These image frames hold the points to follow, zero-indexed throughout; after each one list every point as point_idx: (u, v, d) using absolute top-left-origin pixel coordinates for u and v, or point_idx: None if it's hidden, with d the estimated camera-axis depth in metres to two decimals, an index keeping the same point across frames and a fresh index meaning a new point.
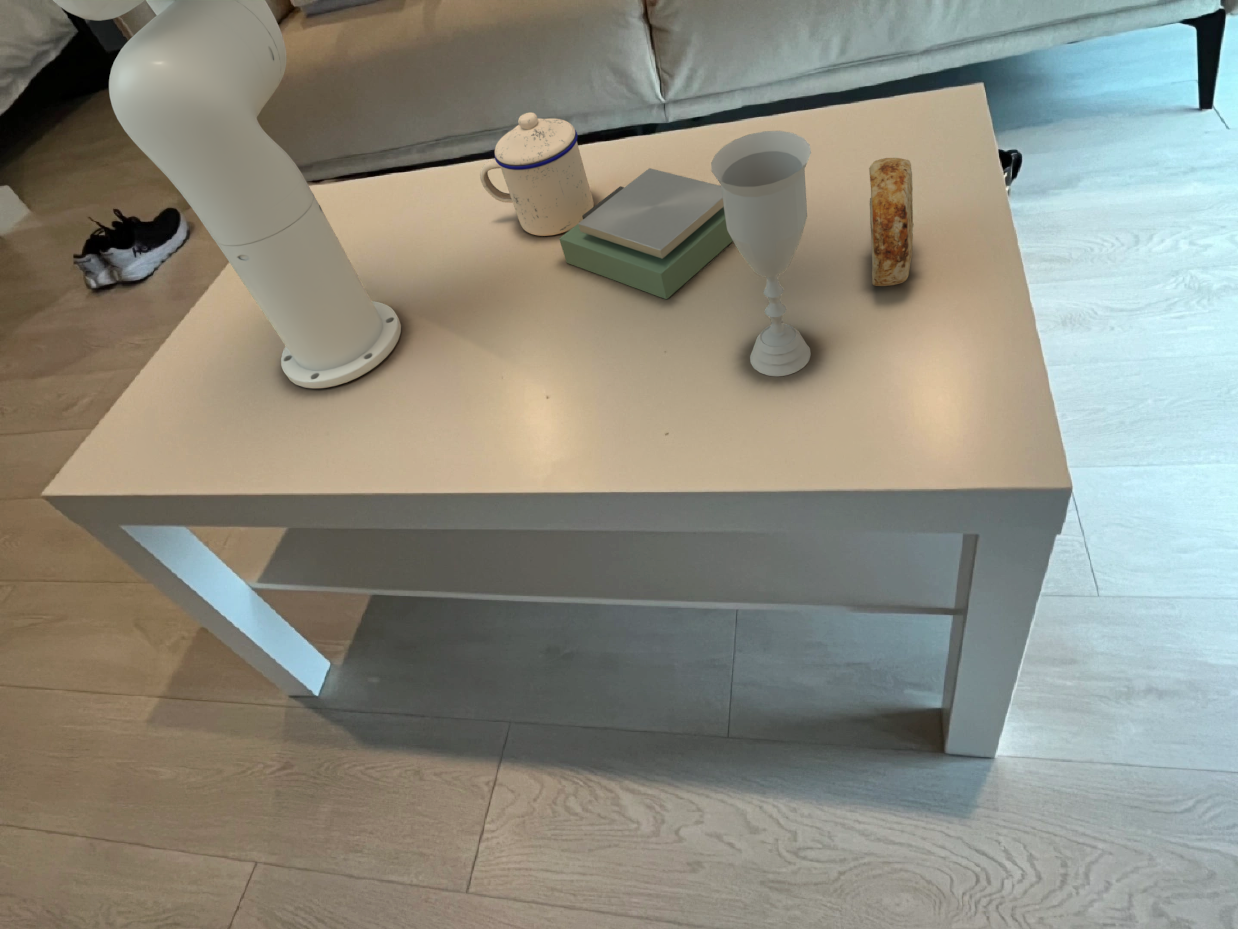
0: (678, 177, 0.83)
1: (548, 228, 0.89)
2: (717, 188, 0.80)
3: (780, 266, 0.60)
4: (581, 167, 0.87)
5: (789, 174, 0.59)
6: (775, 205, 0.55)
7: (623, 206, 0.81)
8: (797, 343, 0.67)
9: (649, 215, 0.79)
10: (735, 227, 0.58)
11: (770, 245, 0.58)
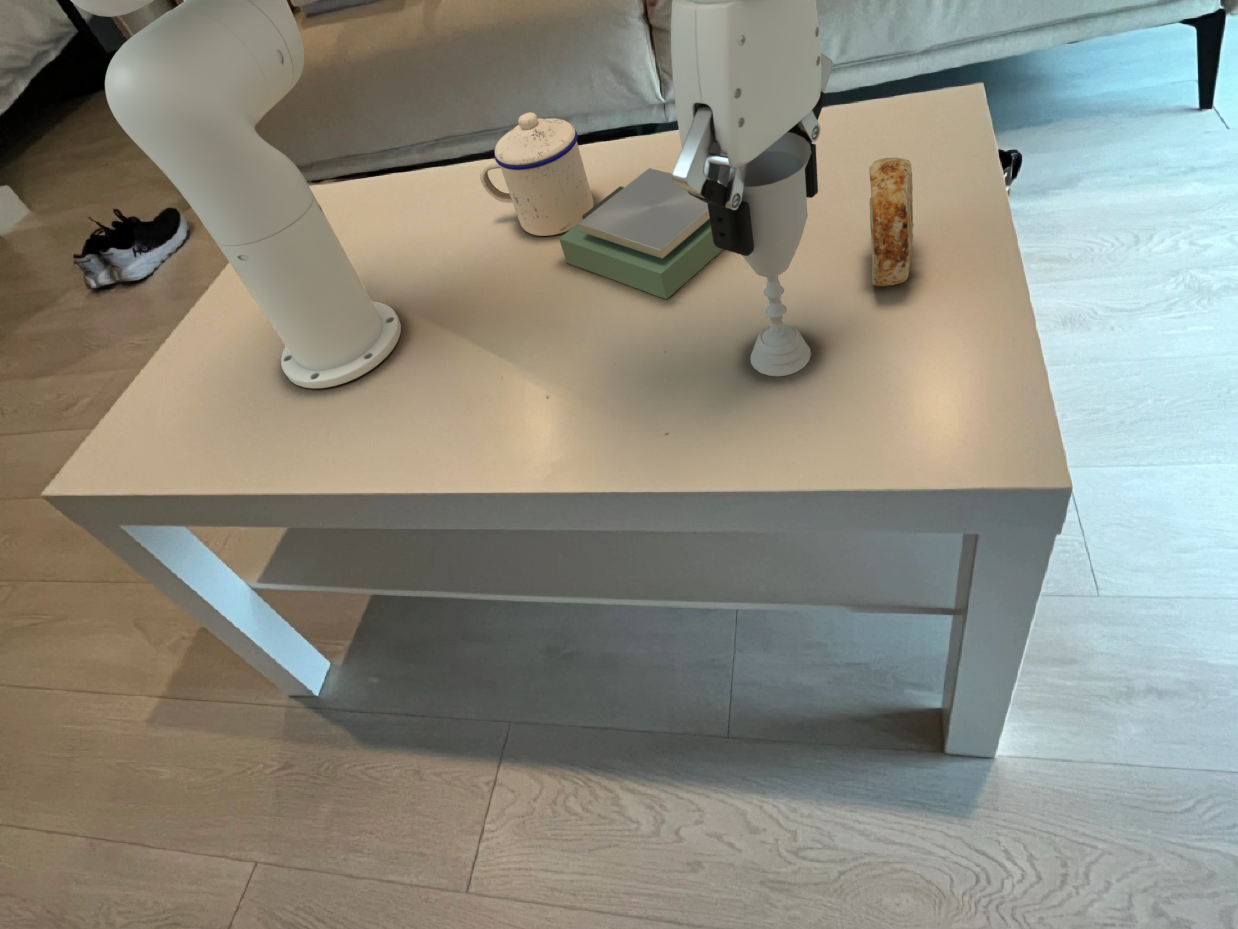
0: None
1: (548, 228, 0.89)
2: None
3: (780, 266, 0.60)
4: (581, 167, 0.87)
5: (789, 174, 0.59)
6: (775, 205, 0.55)
7: (623, 206, 0.81)
8: (797, 343, 0.67)
9: (649, 215, 0.79)
10: None
11: (770, 245, 0.58)
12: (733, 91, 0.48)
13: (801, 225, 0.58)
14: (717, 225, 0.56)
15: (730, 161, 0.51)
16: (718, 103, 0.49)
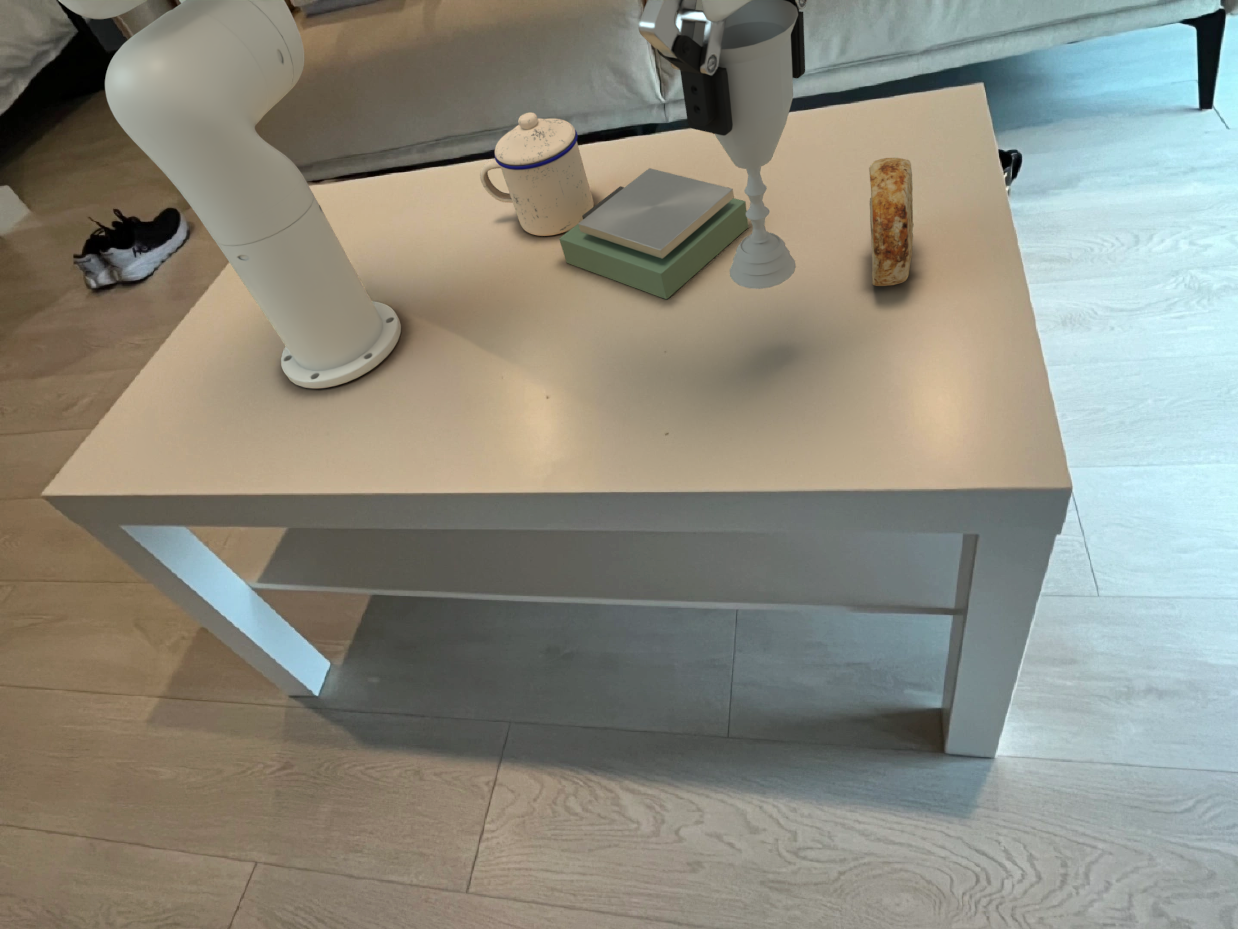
0: (678, 177, 0.83)
1: (548, 228, 0.89)
2: (717, 188, 0.80)
3: (762, 155, 0.54)
4: (581, 167, 0.87)
5: None
6: (756, 74, 0.49)
7: (623, 206, 0.81)
8: (781, 252, 0.60)
9: (649, 215, 0.79)
10: None
11: (751, 125, 0.51)
12: None
13: (786, 103, 0.51)
14: (691, 97, 0.50)
15: (705, 11, 0.45)
16: None
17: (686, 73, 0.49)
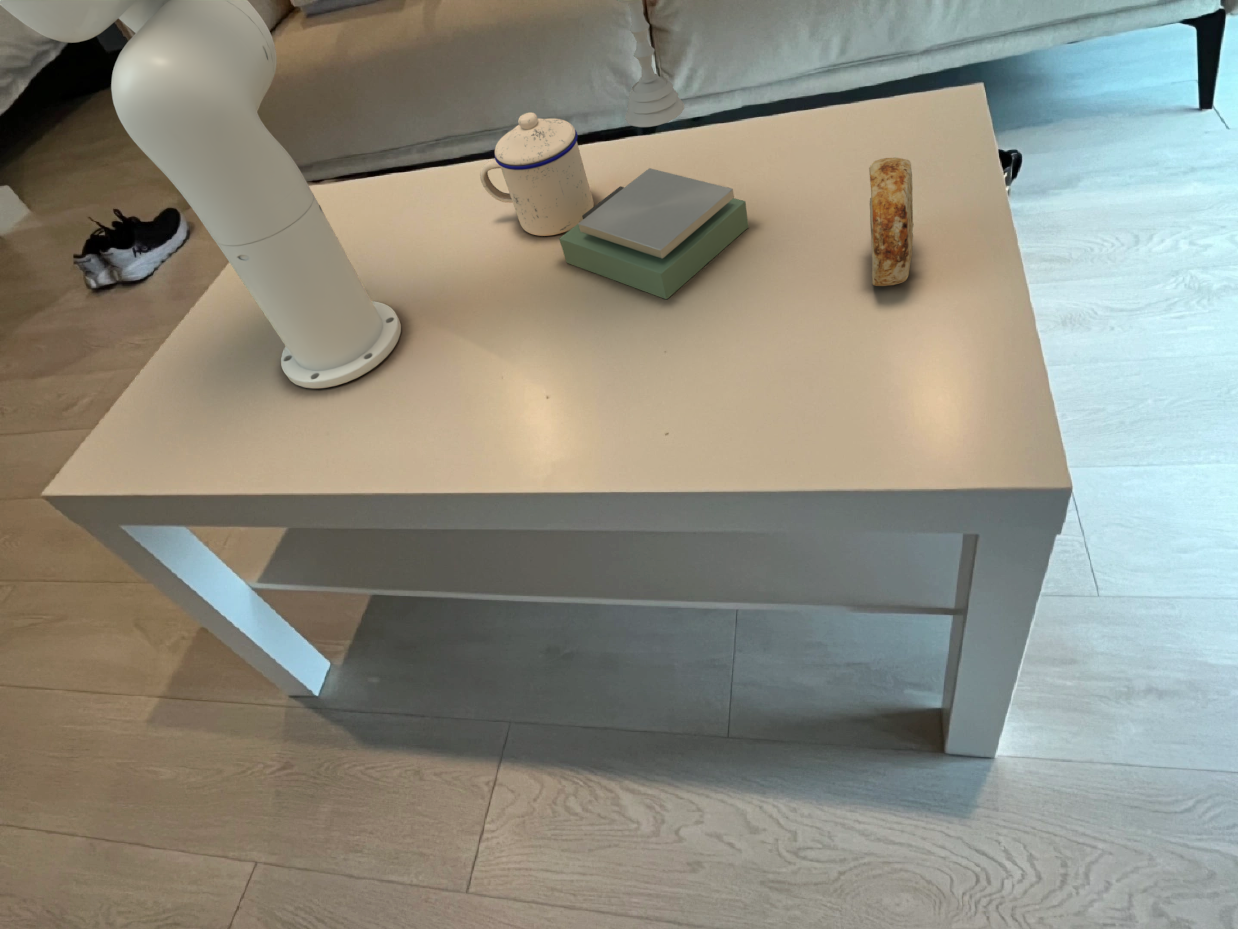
0: (678, 177, 0.83)
1: (548, 228, 0.89)
2: (717, 188, 0.80)
3: None
4: (581, 167, 0.87)
5: None
6: None
7: (623, 206, 0.81)
8: (668, 91, 0.66)
9: (649, 215, 0.79)
10: None
11: None
12: None
13: None
14: None
15: None
16: None
17: None
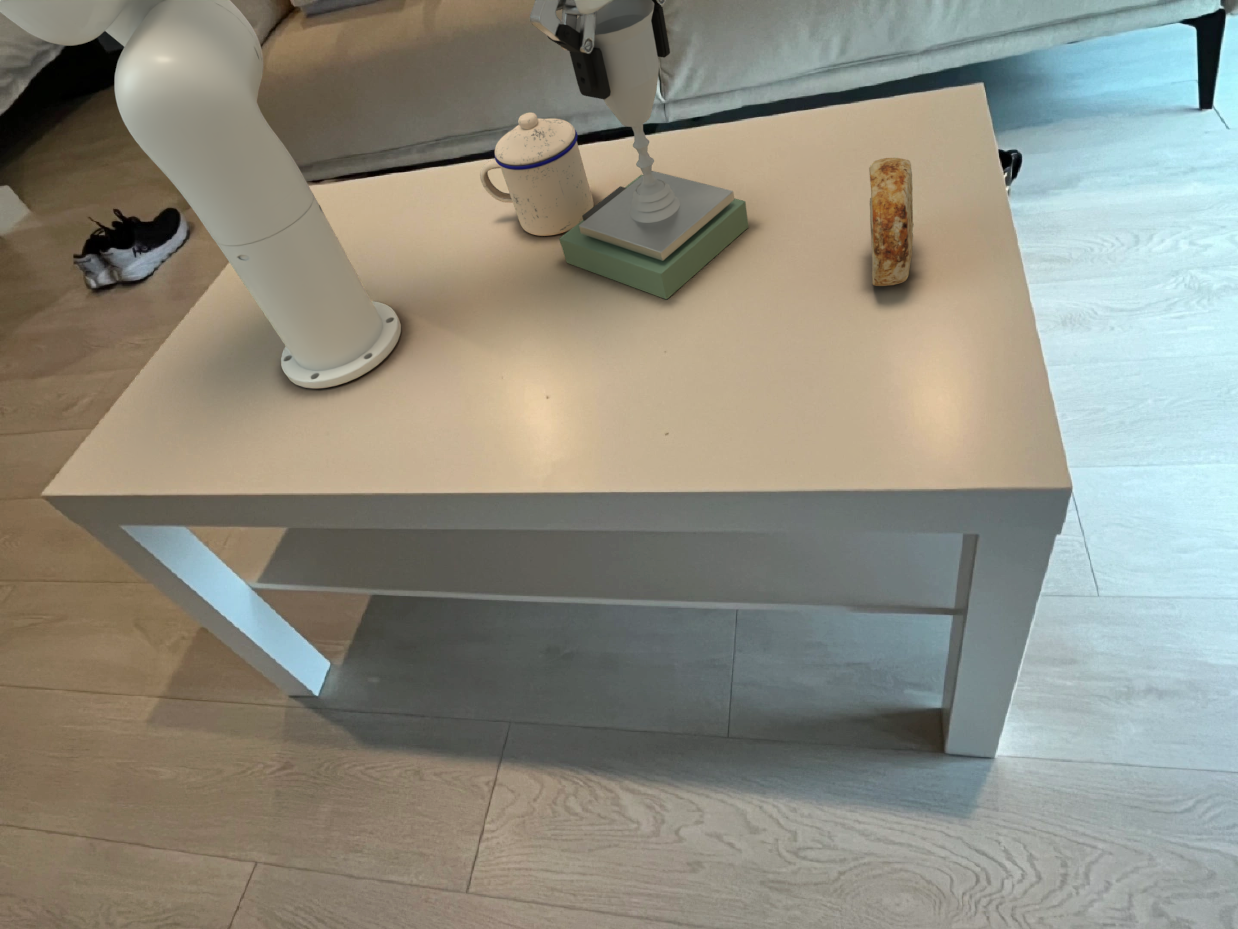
0: (678, 179, 0.83)
1: (548, 228, 0.89)
2: (717, 190, 0.80)
3: (639, 115, 0.72)
4: (581, 167, 0.87)
5: None
6: (624, 53, 0.67)
7: (624, 208, 0.81)
8: (666, 193, 0.78)
9: None
10: None
11: (625, 91, 0.69)
12: None
13: (651, 75, 0.69)
14: (578, 71, 0.67)
15: (578, 6, 0.62)
16: None
17: (572, 53, 0.66)
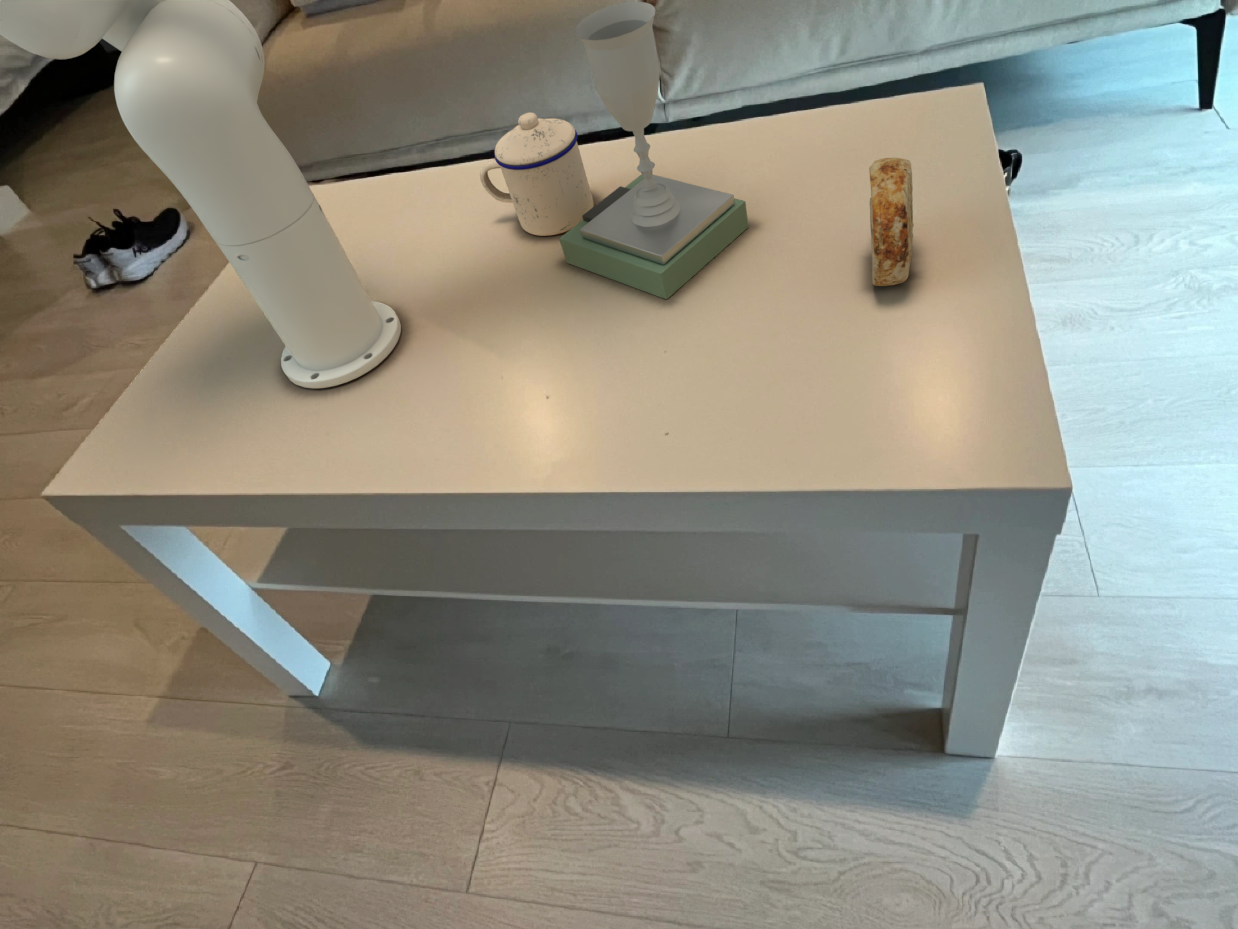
0: (679, 183, 0.83)
1: (548, 228, 0.89)
2: (717, 194, 0.80)
3: (640, 119, 0.72)
4: (581, 167, 0.87)
5: None
6: (625, 58, 0.67)
7: (625, 212, 0.82)
8: (666, 197, 0.78)
9: None
10: (598, 81, 0.69)
11: (626, 96, 0.69)
12: None
13: (652, 80, 0.69)
14: None
15: None
16: None
17: None
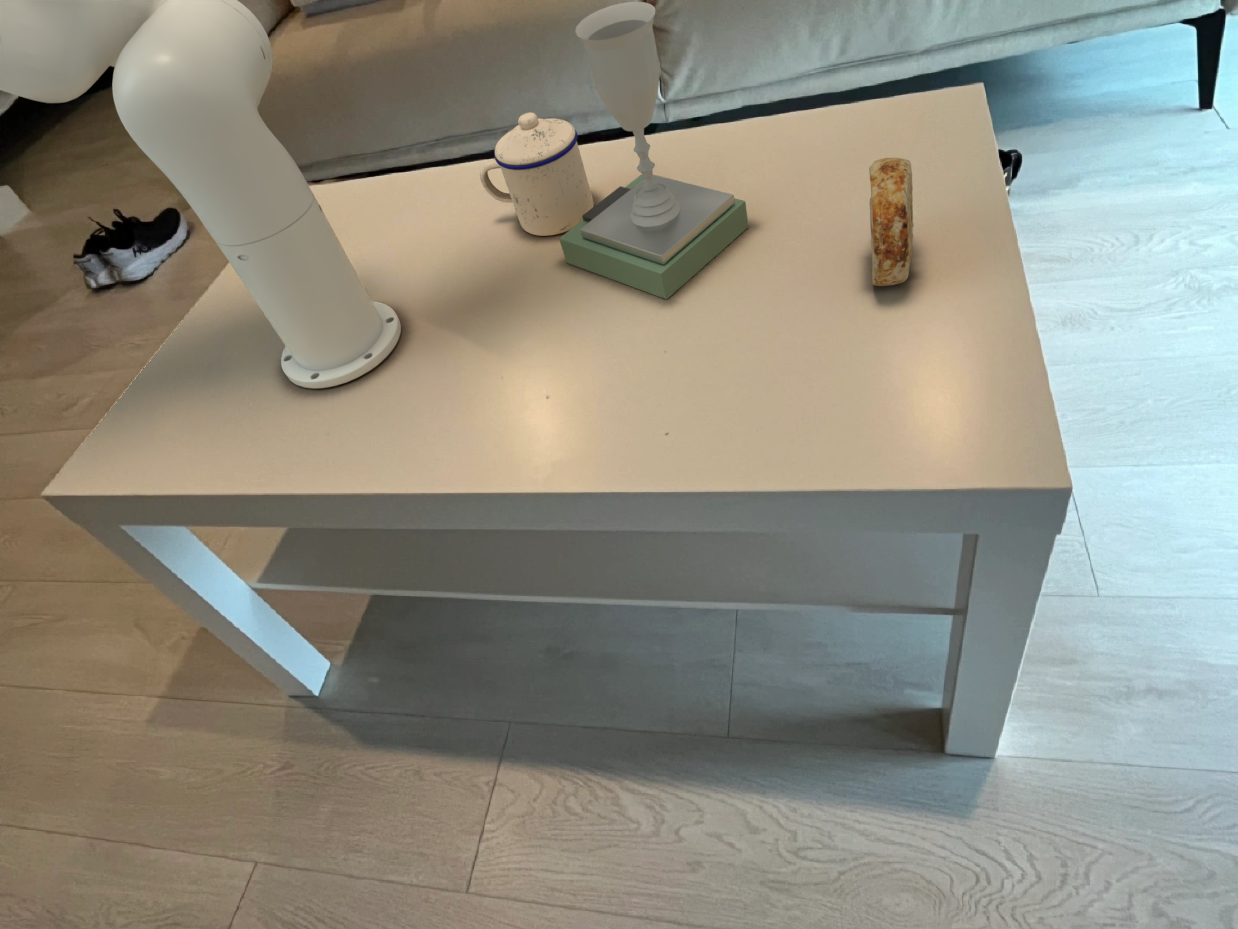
0: (679, 183, 0.83)
1: (548, 228, 0.89)
2: (717, 194, 0.80)
3: (640, 119, 0.72)
4: (581, 167, 0.87)
5: None
6: (625, 58, 0.67)
7: (625, 212, 0.82)
8: (666, 197, 0.78)
9: None
10: (598, 81, 0.69)
11: (626, 96, 0.69)
12: None
13: (652, 80, 0.69)
14: None
15: None
16: None
17: None
